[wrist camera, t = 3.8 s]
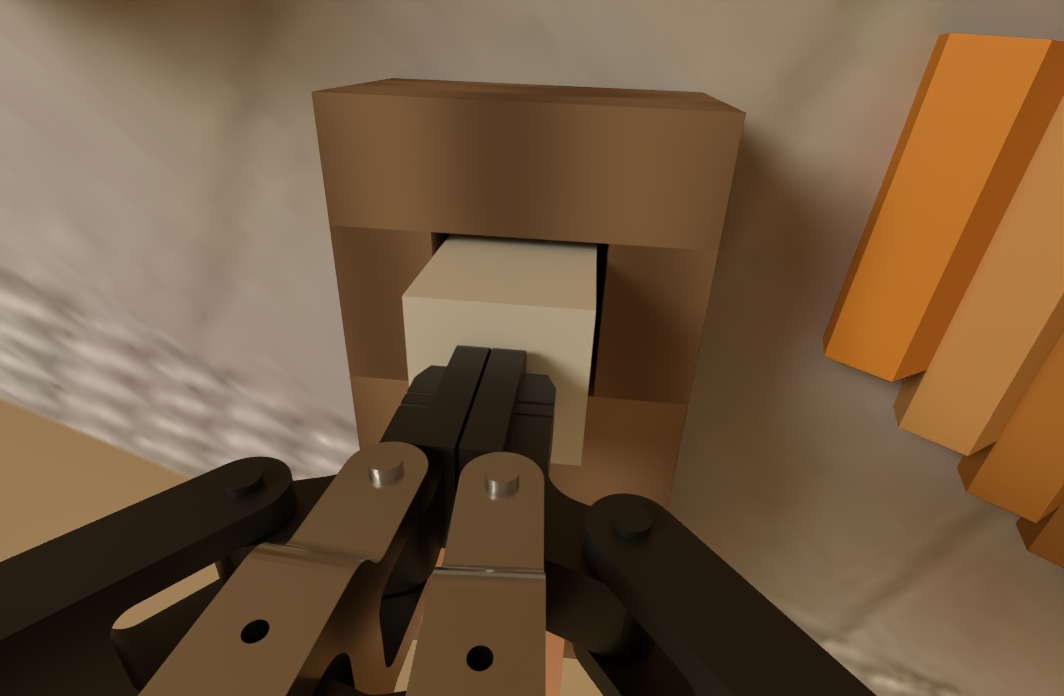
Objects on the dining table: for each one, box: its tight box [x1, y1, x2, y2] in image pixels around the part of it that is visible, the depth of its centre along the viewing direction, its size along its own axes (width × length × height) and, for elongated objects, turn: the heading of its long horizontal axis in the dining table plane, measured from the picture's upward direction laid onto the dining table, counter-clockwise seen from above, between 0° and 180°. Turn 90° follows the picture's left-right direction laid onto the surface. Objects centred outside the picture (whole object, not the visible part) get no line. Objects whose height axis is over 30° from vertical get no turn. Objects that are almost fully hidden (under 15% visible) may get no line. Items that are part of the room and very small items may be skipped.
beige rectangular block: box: [402, 233, 597, 466], centre depth 15 cm, size 4×4×6 cm
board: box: [312, 78, 746, 659], centre depth 20 cm, size 10×20×6 cm, turn 178°
